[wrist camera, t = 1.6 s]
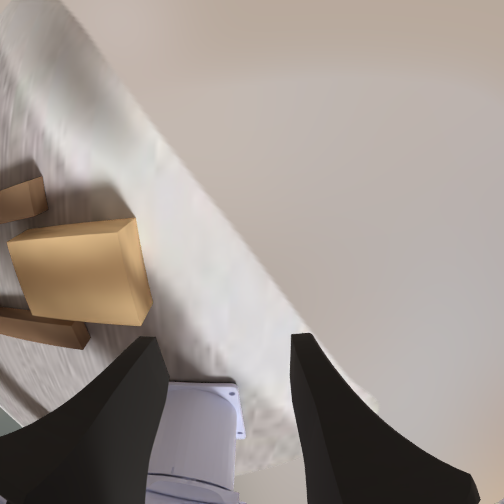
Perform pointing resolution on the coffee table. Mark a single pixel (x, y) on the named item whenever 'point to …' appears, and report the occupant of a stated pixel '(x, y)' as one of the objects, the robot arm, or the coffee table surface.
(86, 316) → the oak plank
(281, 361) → the coffee table surface
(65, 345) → the walnut dock
